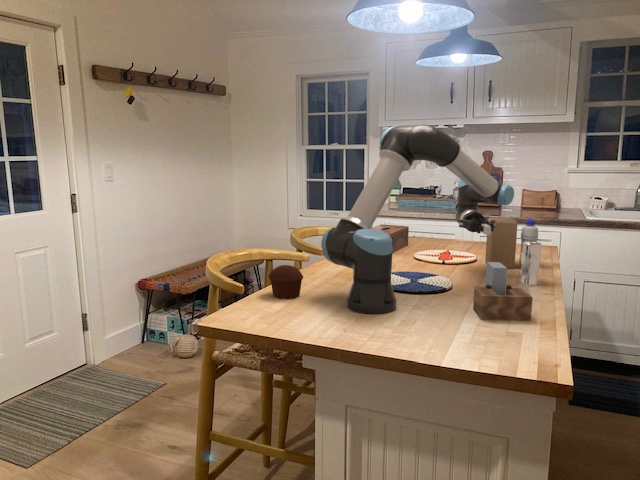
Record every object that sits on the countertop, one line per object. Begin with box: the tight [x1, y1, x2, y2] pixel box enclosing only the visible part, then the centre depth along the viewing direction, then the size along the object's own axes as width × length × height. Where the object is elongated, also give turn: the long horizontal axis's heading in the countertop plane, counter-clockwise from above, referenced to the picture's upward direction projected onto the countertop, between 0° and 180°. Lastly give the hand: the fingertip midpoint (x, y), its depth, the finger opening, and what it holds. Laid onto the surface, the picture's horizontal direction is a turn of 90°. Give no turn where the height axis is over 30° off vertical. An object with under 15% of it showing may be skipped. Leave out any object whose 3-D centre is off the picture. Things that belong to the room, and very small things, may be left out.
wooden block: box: [484, 217, 518, 270], centre depth 216 cm, size 10×10×20 cm
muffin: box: [268, 264, 304, 300], centre depth 172 cm, size 12×11×10 cm
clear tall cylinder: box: [519, 242, 542, 287], centre depth 189 cm, size 7×7×15 cm
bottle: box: [519, 219, 539, 267], centre depth 214 cm, size 7×7×20 cm
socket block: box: [472, 284, 533, 322], centre depth 153 cm, size 14×10×8 cm
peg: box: [484, 262, 508, 295], centre depth 161 cm, size 4×8×13 cm, turn 176°
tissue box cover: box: [370, 224, 410, 254], centre depth 255 cm, size 26×14×10 cm, turn 152°
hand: (488, 230), depth 170 cm, fingers closed
